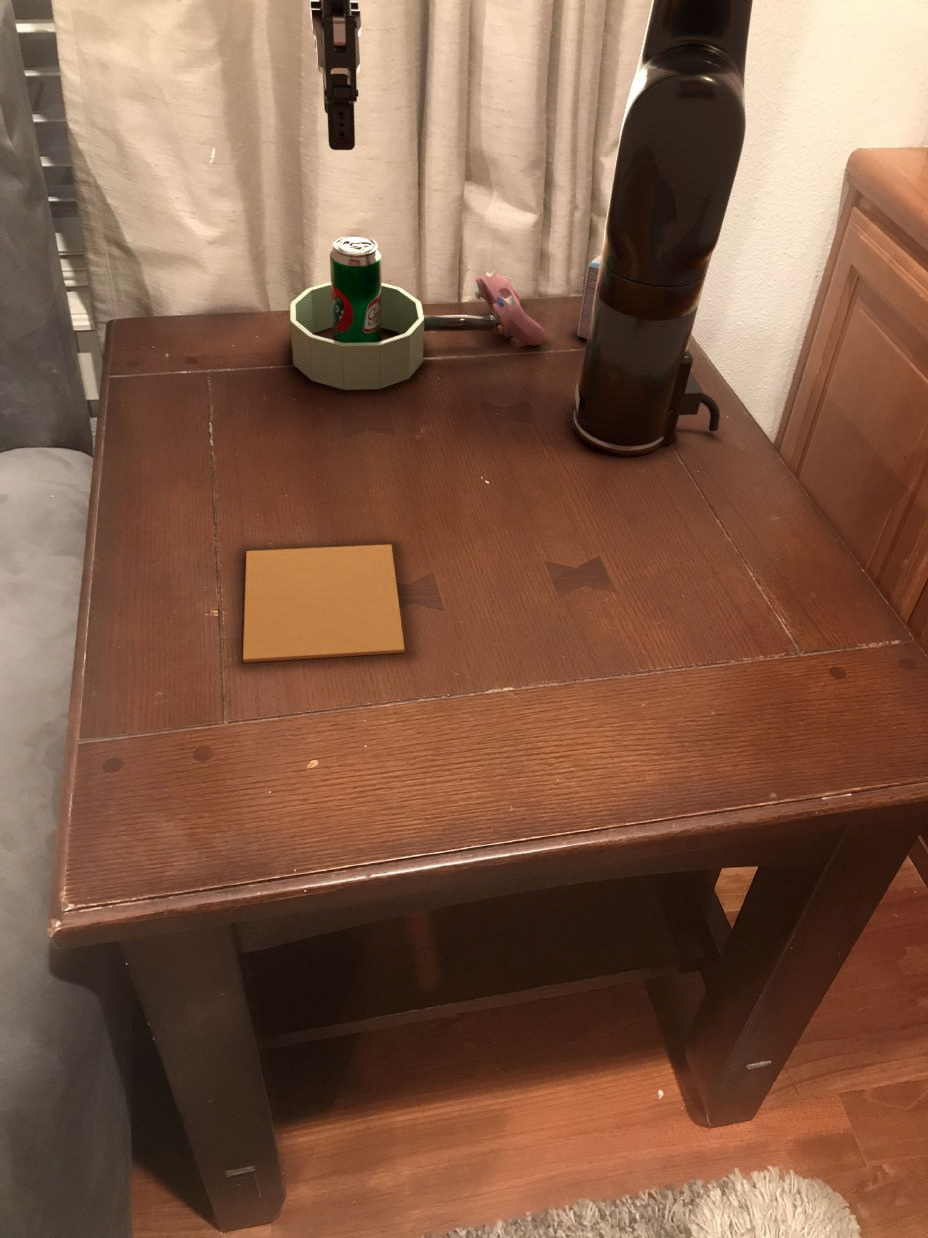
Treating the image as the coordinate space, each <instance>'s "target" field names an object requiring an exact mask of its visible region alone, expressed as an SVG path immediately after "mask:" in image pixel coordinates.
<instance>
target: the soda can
mask: <svg viewBox="0 0 928 1238" xmlns="http://www.w3.org/2000/svg"><path fill="white" fill-rule="evenodd" d="M378 248H379V247H378V243H377V242H376V241H375V240H374V239H373V238H370V237H367V236H364V235H357V234H355V235H344V236H342V237H339V238H337V239H335V240H334V241H333V244H332V249H331V250H330V252H329V268H330V270H329V271H330V282H331V296H332V319H333V327H332V338H333V339H332V340H334V341H338V342H342V343H374V342H380V341H383V340H382V339H383V338H382V337H383V336H382V331H383V330H382V329H383V328H382V296H381V283H382V253H381V252H380V250H379V249H378Z"/></svg>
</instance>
